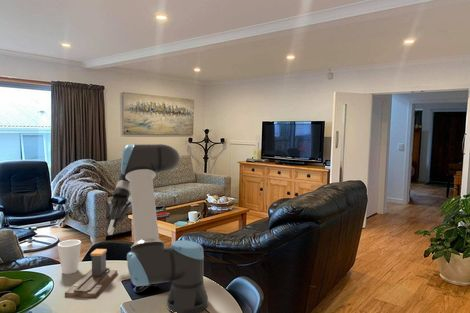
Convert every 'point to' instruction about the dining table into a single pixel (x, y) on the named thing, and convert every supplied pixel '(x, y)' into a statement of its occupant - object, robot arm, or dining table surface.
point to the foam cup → (69, 255)
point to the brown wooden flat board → (90, 284)
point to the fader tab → (98, 262)
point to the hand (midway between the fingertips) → (109, 233)
